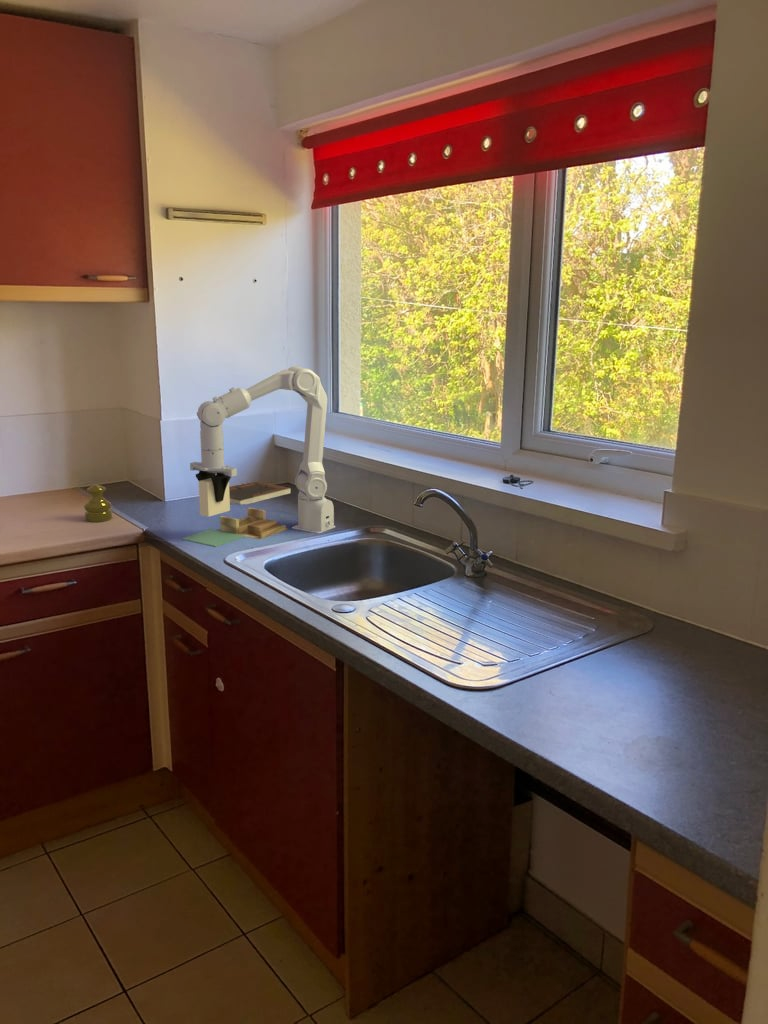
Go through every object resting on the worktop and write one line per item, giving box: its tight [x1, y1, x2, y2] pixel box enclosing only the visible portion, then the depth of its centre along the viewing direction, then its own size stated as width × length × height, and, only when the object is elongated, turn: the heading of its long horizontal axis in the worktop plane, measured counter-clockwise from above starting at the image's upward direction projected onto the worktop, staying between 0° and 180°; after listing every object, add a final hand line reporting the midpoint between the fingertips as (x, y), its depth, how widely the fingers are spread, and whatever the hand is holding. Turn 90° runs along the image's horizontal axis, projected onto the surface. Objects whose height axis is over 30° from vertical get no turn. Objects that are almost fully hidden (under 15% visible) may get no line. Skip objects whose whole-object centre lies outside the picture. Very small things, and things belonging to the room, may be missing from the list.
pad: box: [181, 528, 246, 548], centre depth 220 cm, size 12×11×1 cm
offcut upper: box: [247, 518, 279, 532], centre depth 225 cm, size 4×7×1 cm, turn 148°
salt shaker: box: [83, 483, 113, 523], centre depth 237 cm, size 7×7×10 cm
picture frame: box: [229, 481, 292, 505], centre depth 267 cm, size 16×2×22 cm
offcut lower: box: [248, 524, 281, 536], centre depth 226 cm, size 5×8×1 cm, turn 148°
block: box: [198, 478, 231, 518], centre depth 218 cm, size 3×8×9 cm, turn 148°
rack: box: [219, 507, 288, 540], centre depth 227 cm, size 14×12×4 cm
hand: (214, 500), depth 218 cm, fingers closed on block, 3 cm apart
